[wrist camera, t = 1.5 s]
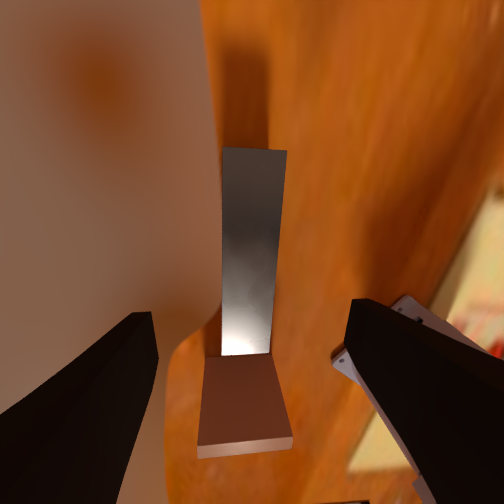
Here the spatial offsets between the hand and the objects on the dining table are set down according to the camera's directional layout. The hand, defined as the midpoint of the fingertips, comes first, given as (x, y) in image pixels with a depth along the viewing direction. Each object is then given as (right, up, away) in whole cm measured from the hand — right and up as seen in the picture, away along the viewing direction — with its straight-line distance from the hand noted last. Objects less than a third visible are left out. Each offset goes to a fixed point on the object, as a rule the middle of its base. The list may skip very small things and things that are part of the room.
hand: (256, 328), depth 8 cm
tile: (-1, -7, +13) cm, 15 cm away
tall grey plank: (-1, +4, +9) cm, 10 cm away
